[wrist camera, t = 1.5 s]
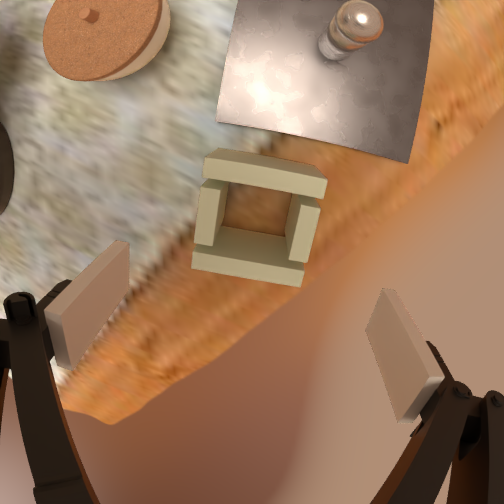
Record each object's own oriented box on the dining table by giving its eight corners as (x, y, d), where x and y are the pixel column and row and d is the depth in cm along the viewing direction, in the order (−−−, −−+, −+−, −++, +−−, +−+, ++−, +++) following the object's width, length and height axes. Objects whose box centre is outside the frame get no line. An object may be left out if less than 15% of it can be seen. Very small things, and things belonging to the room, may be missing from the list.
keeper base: (217, 121, 28) (189, 123, 18) (251, -45, 21) (243, -106, 11) (401, 161, 28) (460, 187, 18) (427, 3, 21) (486, -29, 11)
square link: (205, 237, 33) (191, 268, 26) (218, 147, 29) (204, 157, 23) (294, 252, 33) (300, 287, 26) (314, 165, 29) (327, 179, 23)
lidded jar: (90, 0, 23) (40, -24, 14) (188, -17, 22) (159, -59, 14) (82, 92, 27) (25, 90, 18) (181, 81, 27) (145, 69, 18)
